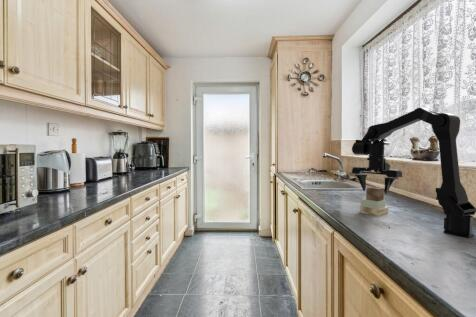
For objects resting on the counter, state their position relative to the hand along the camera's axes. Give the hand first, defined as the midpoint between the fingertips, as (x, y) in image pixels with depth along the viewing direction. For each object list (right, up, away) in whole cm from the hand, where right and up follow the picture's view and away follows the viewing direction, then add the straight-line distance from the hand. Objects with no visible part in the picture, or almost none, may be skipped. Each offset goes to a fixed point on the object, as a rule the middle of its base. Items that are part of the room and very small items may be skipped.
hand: (374, 192), depth 115 cm
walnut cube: (0, -3, 0) cm, 3 cm away
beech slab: (0, -9, 0) cm, 9 cm away
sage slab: (-1, -6, 0) cm, 6 cm away
